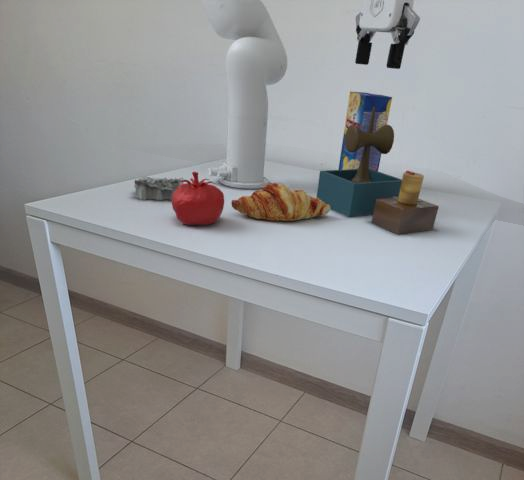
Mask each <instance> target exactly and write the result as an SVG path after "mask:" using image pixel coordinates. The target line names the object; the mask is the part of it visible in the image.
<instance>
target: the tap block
mask: <svg viewBox="0 0 524 480" xmlns="http://www.w3.org/2000/svg"><path fill="white" fill-rule="evenodd" d="M439 207H440V205H438V204H435V203H431V202H429V201H426V200H424V199H421V198H419V199H418V203H417V204H415V205H408V204H403V203H400V202H398V197H395V196H393V198H382V199H376V202H375V208H374V213H373V215H372V218H371V223H372V224H373V225H376V226H378V227H380V228H383V229H385V230H387V231H389V232H391V233H393V234H395V235H404V234H412V233H418V232H419V233H420V232H427V231H433V230H434V226H435V223H436V218H437V216H438V211H439Z"/></svg>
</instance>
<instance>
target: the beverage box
mask: <svg viewBox="0 0 524 480" xmlns="http://www.w3.org/2000/svg"><path fill="white" fill-rule="evenodd" d="M392 100H393V97H392V96H389V95H384V94H379V93H376V92H362V91H349V96H348V104H347V109H346V117H345V122H344V123H345V124H344V130H343V136H342V143H341V150H340V157H339V162H338V163H339V164H338V169H337V170H347V169H358V168H359V165H360V162H361V158H362V155H363V151H364V147H365V146H364V147H361V148H360V149H358V150H357V151H355V152H353V153H351V152H348V151H347V150H346V147H345V135H346V131H347V129H348V127H349V126H350V125H356V126H357V127H359V128H360V129H361V130H362V131H364V132H368V128H369V123H370V118H371V113H372V109H373V107H375V118H374V125H373V132H375V131H377V130H378V129H379V128H381V127H382V126H384V125H388V121H389V116H390V111H391V105H392ZM381 159H382V153H380V152H379V151H378V150H377V149H376V148H375V147H373V146H370V156H369V169H372V170H375V171H378V172H379V169H380V163H381Z"/></svg>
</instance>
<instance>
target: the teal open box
mask: <svg viewBox="0 0 524 480" xmlns="http://www.w3.org/2000/svg"><path fill="white" fill-rule="evenodd" d="M357 171H358V169H347V170H338V169H327V170H326V169H325V170H319V175H318V182H317V183H318V184H317V190H316V198H319V199H320V200H322V201H323V202H324V203H325V204H329V205H330V210H333V211H336V212H338V213H340V214H342V215H344V216H346V217H348V218H352V217H362V216H373V213H374V208H375V202H376V199H382V198H393V196H395V197H399V192H400V187H401V183H402V178H398V177H396V176H393V175H390V174H386V173H384V172H381V171H379V170H378V171H375V170H372V169H369V179H370V181H371V182H364V183H354V182H351V180H352V179H353V178H354V177H355V176H356V174H357Z"/></svg>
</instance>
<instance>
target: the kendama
mask: <svg viewBox="0 0 524 480" xmlns="http://www.w3.org/2000/svg"><path fill="white" fill-rule="evenodd" d="M374 118H375V107H373V109H372V113H371V118H370V123H369V128H368V132H364V131H362V130H361V129H360V128H359V127H357V126H356V125H350V126H349V127H348V129H347V131H346V135H345V147H346V150H347V151H348V152H351V153H353V152H355V151H357V150H358V149H360V148H361V147H364V146H365V147H364V151H363V155H362V158H361V162H360V165H359V168H358V171H357V174H356V176H355V177H354V178H353V179H352V180H351V182H354V183H364V182H371V181H370V179H369V156H370V146H373V147H375V148H376V149H377V150H378V151H379V152H380V153H381V155H387V154H389V153H390V152H391V150H392V148H393V145H394V141H395V132H394V131H395V130H394V128H393V126H391V125H390V124H387V125H384V126H382V127H381V128H379V129H378V130H377V131H375V132H373V125H374Z"/></svg>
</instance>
